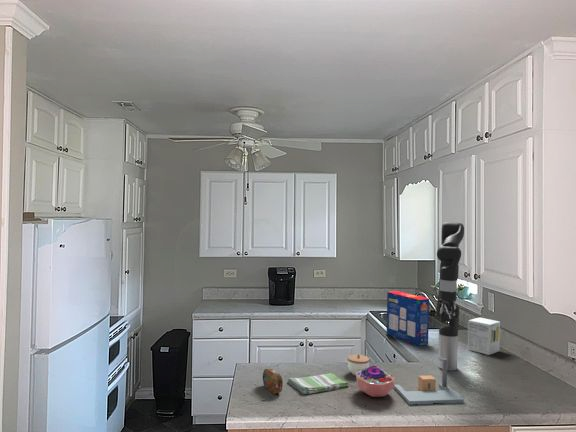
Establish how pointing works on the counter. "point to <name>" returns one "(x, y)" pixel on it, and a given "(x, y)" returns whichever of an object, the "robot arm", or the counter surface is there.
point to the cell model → (375, 381)
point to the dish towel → (317, 383)
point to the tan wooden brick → (426, 383)
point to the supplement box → (484, 335)
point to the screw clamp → (431, 392)
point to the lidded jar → (357, 362)
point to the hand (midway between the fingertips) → (447, 324)
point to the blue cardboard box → (408, 317)
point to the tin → (272, 381)
